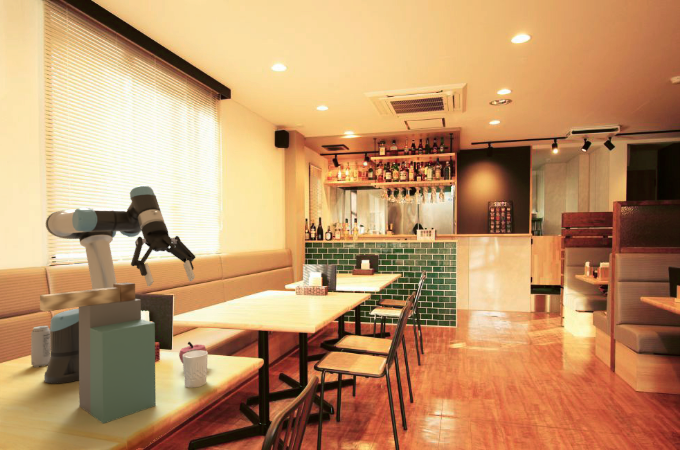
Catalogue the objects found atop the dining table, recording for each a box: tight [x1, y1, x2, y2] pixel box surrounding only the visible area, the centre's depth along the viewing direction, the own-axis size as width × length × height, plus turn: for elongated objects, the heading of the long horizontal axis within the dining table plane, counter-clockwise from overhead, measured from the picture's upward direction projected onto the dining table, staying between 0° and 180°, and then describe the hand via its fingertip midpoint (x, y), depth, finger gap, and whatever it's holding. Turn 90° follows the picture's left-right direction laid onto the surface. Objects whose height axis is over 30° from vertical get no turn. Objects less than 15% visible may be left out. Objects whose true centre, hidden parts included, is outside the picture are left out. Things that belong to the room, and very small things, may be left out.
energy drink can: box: [30, 325, 51, 368], centre depth 158 cm, size 6×6×15 cm
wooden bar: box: [39, 282, 136, 312], centre depth 117 cm, size 23×6×5 cm, turn 140°
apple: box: [178, 341, 207, 364], centre depth 149 cm, size 10×9×10 cm
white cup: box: [182, 350, 209, 388], centre depth 134 cm, size 8×8×10 cm
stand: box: [78, 298, 157, 424], centre depth 118 cm, size 14×18×30 cm
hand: (172, 281), depth 125 cm, fingers open, 13 cm apart
